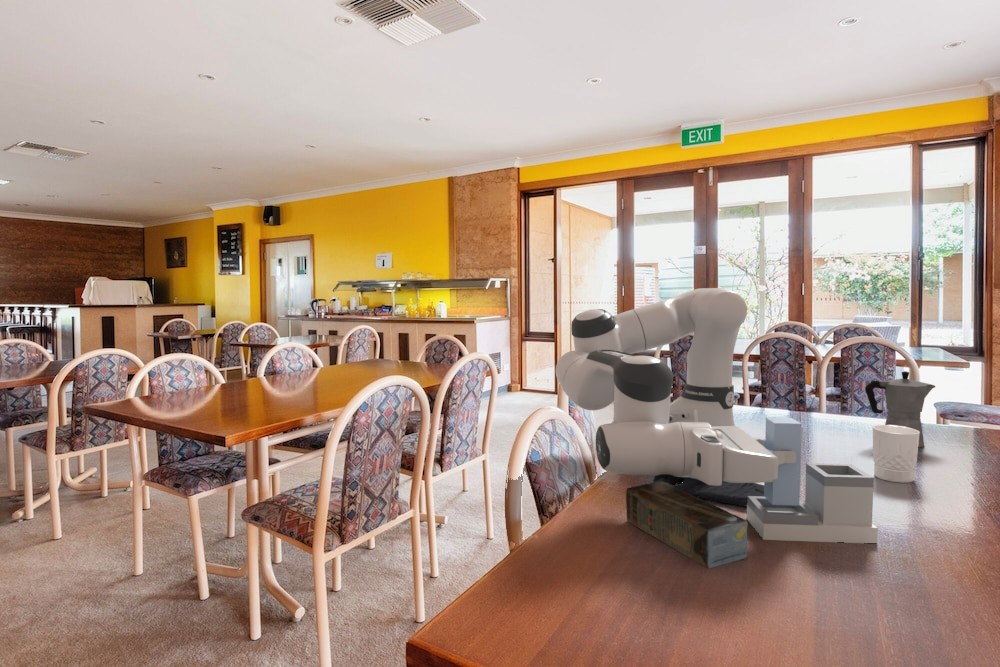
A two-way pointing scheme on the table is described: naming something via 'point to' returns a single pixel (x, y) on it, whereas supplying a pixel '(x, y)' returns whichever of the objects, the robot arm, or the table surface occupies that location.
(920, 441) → the coffeepot
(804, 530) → the stepped base with tray
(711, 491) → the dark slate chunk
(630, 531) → the table surface
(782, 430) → the plug
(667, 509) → the beverage carton
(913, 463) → the white cup
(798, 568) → the table surface
